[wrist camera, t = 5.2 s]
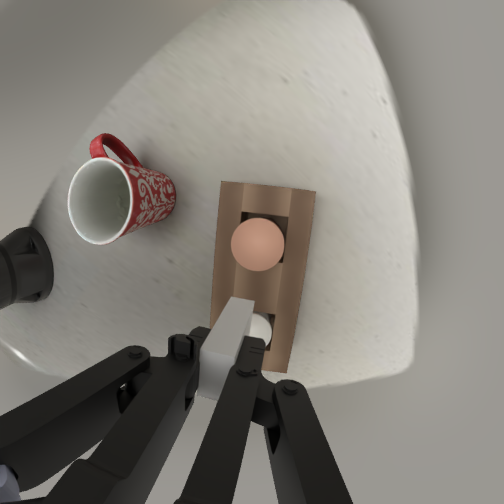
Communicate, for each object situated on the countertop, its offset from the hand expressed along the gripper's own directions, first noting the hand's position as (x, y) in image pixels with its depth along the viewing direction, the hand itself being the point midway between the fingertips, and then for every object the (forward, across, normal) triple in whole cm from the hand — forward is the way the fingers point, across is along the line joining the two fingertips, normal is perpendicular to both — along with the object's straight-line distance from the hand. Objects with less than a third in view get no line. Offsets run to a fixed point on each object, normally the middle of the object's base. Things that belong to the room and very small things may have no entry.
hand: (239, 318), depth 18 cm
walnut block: (+21, 0, -2) cm, 21 cm away
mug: (+21, -18, +7) cm, 28 cm away
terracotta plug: (+15, 0, +3) cm, 16 cm away
